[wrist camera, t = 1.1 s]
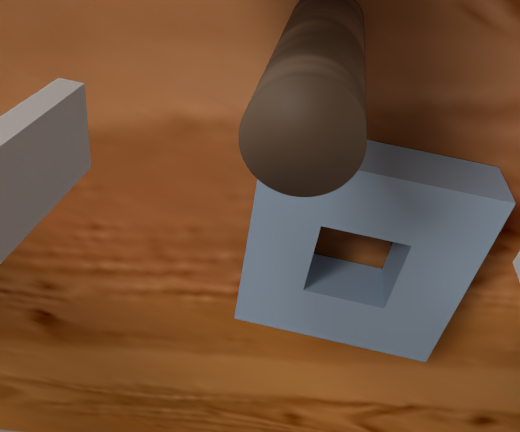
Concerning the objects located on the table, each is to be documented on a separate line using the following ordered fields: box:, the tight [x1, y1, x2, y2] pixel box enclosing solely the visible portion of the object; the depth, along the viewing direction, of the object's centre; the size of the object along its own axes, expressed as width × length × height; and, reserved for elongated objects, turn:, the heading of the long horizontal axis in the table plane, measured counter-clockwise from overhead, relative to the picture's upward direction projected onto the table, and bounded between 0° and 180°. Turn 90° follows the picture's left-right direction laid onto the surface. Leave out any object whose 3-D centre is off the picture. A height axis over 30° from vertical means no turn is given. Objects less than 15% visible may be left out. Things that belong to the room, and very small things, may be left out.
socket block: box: [234, 140, 516, 362], centre depth 32 cm, size 14×14×4 cm
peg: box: [239, 0, 367, 197], centre depth 21 cm, size 4×4×14 cm
